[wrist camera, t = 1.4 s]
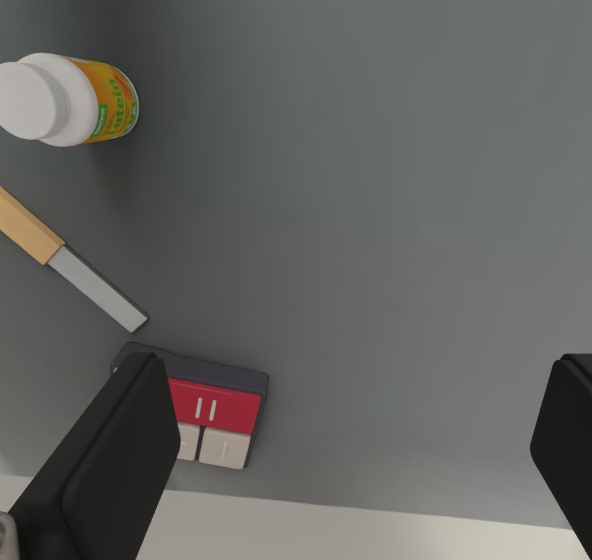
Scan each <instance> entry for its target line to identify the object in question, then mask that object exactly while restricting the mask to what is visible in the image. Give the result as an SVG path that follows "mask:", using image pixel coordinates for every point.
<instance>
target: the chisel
mask: <svg viewBox="0 0 592 560" xmlns="http://www.w3.org/2000/svg"><path fill="white" fill-rule="evenodd" d="M0 230H1V231H2V232H4V233H5V234H6V235H7V236H8V237H10V238H11V239H12V240H13V241H14V242H16V243H17V244H18V245H19V246H20V247H22V248H23V249H24V250H25V251H26V252H28V253H29V254H30V255H31V256H32V257H34V258H35V259H36V260H37V261H38V262H40V263H41V264H42V265H45V264H46V263H48V264H49V265H51V266H52V267H53V268H54V269H55V270H57V271H58V272H59V273H60V274H61V275H62V276H64V277H65V278H66V279H67V280H68V281H70V282H71V283H72V284H73V285H74V286H76V287H77V288H78V289H79V290H80V291H82V292H83V293H84V294H85V295H86V296H88V297H89V298H90V299H91V300H92V301H94V302H95V303H96V304H97V305H98V306H100V307H101V308H102V309H103V310H104V311H105V312H107V313H108V314H109V315H110V316H111V317H113V318H114V319H115V320H116V321H117V322H119V323H120V324H121V325H122V326H123V327H125V328H126V329H127V330H128V331H129V332H131V333H133V332H134V331H135V330H136V329H137V328H138V327H139V326H140V325H142V324H143V323H144V322H145V321H146V320H147V319H148V318H149V316H148V315H147V314H146V313H145V312H144V311H142V310H141V309H140V308H139V307H138V306H137V305H136V304H134V303H133V302H132V301H131V300H130V299H129V298H127V297H126V296H125V295H124V294H123V293H122V292H121V291H119V290H118V289H117V288H116V287H115V286H114V285H112V284H111V283H110V282H109V281H108V280H107V279H105V278H104V277H103V276H102V275H101V274H100V273H99V272H97V271H96V270H95V269H94V268H93V267H92V266H90V265H89V264H88V263H87V262H86V261H85V260H84V259H82V258H81V257H80V256H79V255H78V254H77V253H75V252H74V251H73V250H72V249H71V248H70V247H69V246H67V245H66V243H65V242H64V241H63V240H62V239H61V238H60V237H58V236H57V235H56V234H55V233H54V232H53V231H51V230H50V229H49V228H48V227H47V226H46V225H45V224H43V223H42V222H41V221H40V220H39V219H38V218H36V217H35V216H34V215H33V214H32V213H31V212H30V211H28V210H27V209H26V208H25V207H24V206H23V205H21V204H20V203H19V202H18V201H17V200H16V199H14V198H13V197H12V196H11V195H10V194H9V193H8V192H6V191H5V190H4V189H3V188H2V187H1V186H0Z"/></svg>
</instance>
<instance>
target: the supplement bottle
mask: <svg viewBox="0 0 592 560" xmlns="http://www.w3.org/2000/svg"><path fill="white" fill-rule="evenodd" d="M138 115H139V100H138V96H137V93H136V90H135V88H134V86H133V84H132V83H131V81H130V80H129V79H128V77H127V76H126V75H125V74H124V73H123V72H121V71H120V70H119V69H117V68H115V67H114V66H111V65H109V64H106V63H102V62H97V61H91V60H85V59H79V58H73V57H67V56H61V55H57V54H50V53H35V54H31V55H28V56H26V57H24V58H22V59H20V60H19V61H18V62H6V63H2V64H0V125H1V126H2V127H3V128H4V129H5V130H7V131H8V132H9V133H11V134H13V135H15V136H17V137H20V138H23V139H29V140H34V139H38V140H40V141H42V142H44V143H46V144H49V145H53V146H59V147H67V146H75V145H80V144H86V143H91V142H97V141H103V140H109V139H114V138H118V137H121V136H123V135H125V134H127V133H128V132H129V131H130V130H131V129H132V128H133V127H134V125H135V124H136V122H137V119H138Z"/></svg>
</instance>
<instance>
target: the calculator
mask: <svg viewBox="0 0 592 560" xmlns="http://www.w3.org/2000/svg"><path fill="white" fill-rule="evenodd" d="M131 352H154V353H155V354H156V355H157V357H158V358H162V359H163V360H164V363H165V368H166V372H167V377H168V382H169V386H170V391H171V395H172V400H173V404H174V409H175V413H176V418H177V422H178V427H179V432H180V436H181V446H180V451H179V454H178V456H177V458H178V459H184V460H190V461H193V460H199V462H201V463H206V464H212V465H218V466H223V467H229V468H234V469H242V468H246V467H247V466H248V463H249V459H250V455H251V452H252V448H253V444H254V441H255V437H256V433H257V430H258V426H259V422H260V418H261V415H262V411H263V407H264V404H265V400H266V396H267V388H268V379H269V376H268V375H267V374H265V373H261V372H256V371H251V370H246V369H241V368H236V367H231V366H226V365H221V364H216V363H211V362H206V361H201V360H196V359H192V358H187V357H182V356H177V355H172V354H169V353H167V352H166V351H164V350H163V349H161V348H156V347H151V346H146V345H141V344H136V343H131V342H127V343H126V344H125V345H124V346H123V348H122V349H121V351H120V352H119V353H118V355H117V356H116V358H115V359H114V360H113V362H112V363H111V368H110V377H111V376H112V375H113V373H114V372H115V371H116V369H117V368H118V367H119V365H120V364H121V363H122V361H123V360H124V359H125V357H126V356H127V355H128V354H129V353H131Z"/></svg>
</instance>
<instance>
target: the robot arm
mask: <svg viewBox="0 0 592 560" xmlns="http://www.w3.org/2000/svg"><path fill="white" fill-rule="evenodd" d="M180 446H181V436H180V432H179V427H178V422H177V418H176V413H175V409H174V404H173V400H172V395H171V391H170V386H169V382H168V377H167V372H166V368H165V363H164V360H163V359H162V358H158V357H157V355H156V354H155V353H154V352H131V353H129V354H128V355H127V356H126V357H125V359H124V360H123V361H122V363H121V364H120V365H119V367H118V368H117V369H116V371H115V372H114V373H113V375H112V376H111V377H110V378H109V380H108V381H107V382H106V384H105V385H104V386H103V388H102V389H101V390H100V392H99V393H98V394H97V396H96V397H95V398H94V400H93V401H92V402H91V404H90V405H89V406H88V407H87V409H86V410H85V411H84V413H83V414H82V415H81V417H80V418H79V419H78V421H77V422H76V423H75V425H74V426H73V427H72V429H71V430H70V431H69V432H68V434H67V435H66V436H65V438H64V439H63V440H62V442H61V443H60V444H59V446H58V447H57V448H56V450H55V451H54V452H53V454H52V455H51V456H50V457H49V459H48V460H47V461H46V463H45V464H44V465H43V467H42V468H41V469H40V471H39V472H38V473H37V475H36V476H35V477H34V479H33V480H32V481H31V483H30V484H29V485H28V487H27V488H26V489H25V490H24V492H23V493H22V495H21V496H20V497H19V498H18V500H17V501H16V502H15V504H14V505H13V506H12V508H11V509H10V510H9V512H8V513H6V512H0V560H135V559H136V557H137V554H138V552H139V549H140V547H141V545H142V542H143V540H144V537H145V535H146V532H147V530H148V527H149V525H150V523H151V520H152V518H153V515H154V513H155V510H156V508H157V505H158V503H159V500H160V498H161V495H162V493H163V491H164V488H165V486H166V483H167V481H168V478H169V476H170V473H171V471H172V468H173V466H174V463H175V461H176V458H177V456H178V454H179V451H180ZM530 451H531V456H532V459H533V461H534V463H535V464H536V466H537V468H538V470H539V471H540V473H541V475H542V477H543V478H544V480H545V482H546V484H547V485H548V487H549V489H550V490H551V492H552V494H553V496H554V497H555V499H556V501H557V503H558V504H559V506H560V508H561V510H562V511H563V513H564V515H565V517H566V518H567V520H568V522H569V523H570V525H571V527H572V529H573V530H574V532H575V534H576V535H577V537H578V539H579V541H580V542H581V544H582V546H583V548H584V549H585V551H586V552H587V555H588V556H589V558H590V560H592V354H564V355H563V356H562V357H561V359H560V360H556V361H555V362H554V364H553V366H552V370H551V373H550V377H549V380H548V384H547V387H546V391H545V394H544V398H543V401H542V405H541V408H540V412H539V415H538V419H537V422H536V426H535V429H534V433H533V436H532V440H531V444H530Z"/></svg>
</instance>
